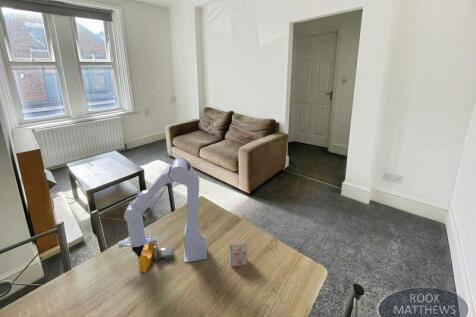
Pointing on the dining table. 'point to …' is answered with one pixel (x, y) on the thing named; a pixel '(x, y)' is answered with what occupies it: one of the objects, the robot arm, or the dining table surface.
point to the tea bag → (238, 254)
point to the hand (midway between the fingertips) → (140, 258)
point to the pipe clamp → (146, 257)
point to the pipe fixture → (163, 253)
